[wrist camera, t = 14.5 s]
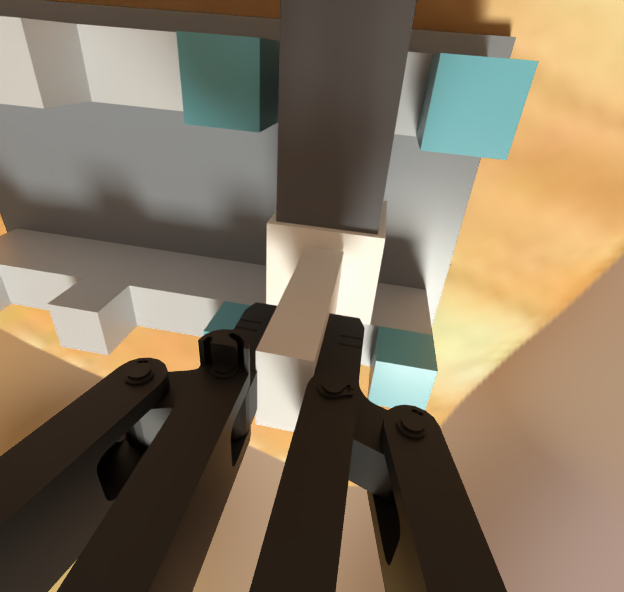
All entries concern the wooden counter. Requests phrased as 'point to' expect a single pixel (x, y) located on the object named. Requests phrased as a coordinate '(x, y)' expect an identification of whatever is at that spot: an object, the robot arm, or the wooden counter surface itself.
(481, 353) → the wooden counter surface
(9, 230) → the grey peg rack
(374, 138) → the grey banded pillar
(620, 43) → the wooden counter surface
